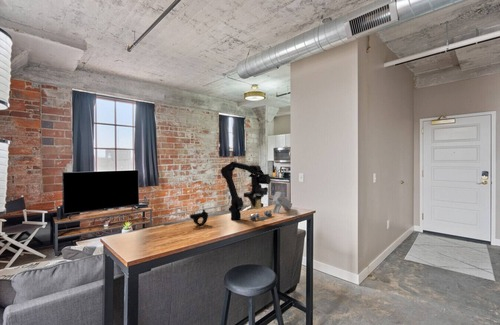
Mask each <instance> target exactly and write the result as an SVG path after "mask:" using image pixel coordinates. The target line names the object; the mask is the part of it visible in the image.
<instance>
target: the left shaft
mask: <svg viewBox="0 0 500 325" xmlns="http://www.w3.org/2000/svg"><path fill="white" fill-rule="evenodd" d="M256 218H260V214H259V212H255V213H252V214H250V215H249V219H250V221H252V222H256V221H257V219H256Z"/></svg>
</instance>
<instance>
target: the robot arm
mask: <svg viewBox="0 0 500 325" xmlns="http://www.w3.org/2000/svg"><path fill="white" fill-rule="evenodd" d="M236 169H240V170H244V171H246V172H248V173H250V174H249V175H248V178H251V180H250V181H251V183H250V185H249V186H250V187H251V190H250V192H248V191H247V192H244V193H243V197H241V196H239V194H238V191H237V188H236V186H235V185H236V184H235V182H234V179H233V175H234V173H233V171H234V170H236ZM220 174H221V176H222V177H223V178H224V179H225V182H226V184H227V188H228V191H229V194H230V196H231V200H230V204H231V205H230V206H229V207H228V211H229V212H230V220H231V221H240V220H241V219H242V217H241V215H242V213H241V212H240V211H241V210H242V209H243V206H244V201H243V198H248V200H249V201H250V204H251V203H252V205H253V207H255V199H256V198H258V199H261V200H262V198H263V197H264V196H267V195H268V192H269V188H268V187H267V186H266V187H262V185H270V184H271V181H272V178H271V176H270V174H269V173H264V172H263V170H262V168H261V165H259V164H246V163H243V162H237V161H231V162H229V163H228V164H226V165H225V166H224V167H221V169H220Z"/></svg>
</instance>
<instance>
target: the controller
mask: <svg viewBox="0 0 500 325" xmlns="http://www.w3.org/2000/svg"><path fill="white" fill-rule="evenodd" d="M208 214H209V212H206V209H202V210H201V212H198V213H192V214H190V215H189V218H190V219H192V220H193V223H194V224H195V225H196V226H203V225H205V224H206V223H207V221H208V218H209V215H208ZM201 218H202V221H201V222H199V219H201Z"/></svg>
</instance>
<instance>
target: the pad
mask: <svg viewBox="0 0 500 325" xmlns="http://www.w3.org/2000/svg"><path fill="white" fill-rule="evenodd" d="M268 219H270V217H268V216H265V215H264V216H259V218H257V217H256V220H259V221H265V220H268Z"/></svg>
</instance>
